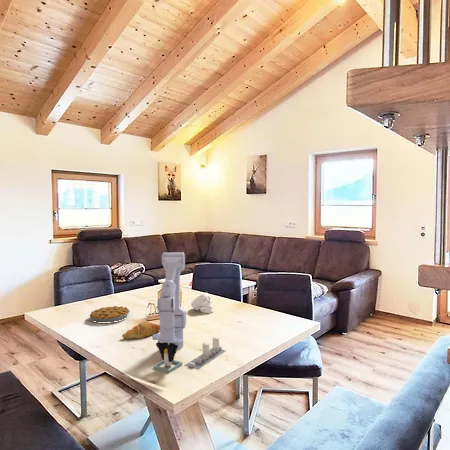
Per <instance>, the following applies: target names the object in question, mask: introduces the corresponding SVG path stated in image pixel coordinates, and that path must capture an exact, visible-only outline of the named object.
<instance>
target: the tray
mask: <svg viewBox="0 0 450 450" xmlns="http://www.w3.org/2000/svg"><path fill="white" fill-rule="evenodd" d="M163 364H164V360H162V359H161V361H159V362H157V363H155V364H153V367H152V368H153V369H154V370H158V371H161V372H164V373H168V374H170V373H171V372H173V371H174V370H176V369H178V368H180V367H181V366H183V362H182V361H180V360H179V361H178V360H175V359H174V360H173V361H172V364H175V365H174V366H173V367H172V366H171V367H170V368H165V367H162V366H161V365H163Z"/></svg>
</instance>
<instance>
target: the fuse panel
mask: <svg viewBox="0 0 450 450" xmlns="http://www.w3.org/2000/svg"><path fill="white" fill-rule="evenodd" d="M225 352H227V350H225V349H222V346H220V345H219V352H218V353H216V350H213V347H212V348H210V358H209V359H206V357H205V356H203V353H202V354H200V355H199V356H197V357H195V358H194V359H192V360H191V361H189V362H186V364H184V367H188V368H192V369H195V370H200V369H202V368H203V367H205V366H206V365H208V364H209V363H210V362H212V361H213V360H215V359H217V357H220V355H222V354H224V353H225Z"/></svg>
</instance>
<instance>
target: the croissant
mask: <svg viewBox="0 0 450 450" xmlns="http://www.w3.org/2000/svg"><path fill="white" fill-rule="evenodd" d="M158 332H160V324H159V323H158V324H157V323H152V322H149V321H141V322H139V323H138V324H137V325H134V326H133V327H132V328H131V329H128V330H127V331H125V333H122V335H121V337H122V338H123V339H126V340H129V339H130V340H131V339H133V338H137V339H144V338H147V337H146V336H148V337H150V335H151V336H152V335H154V334H157V333H158Z"/></svg>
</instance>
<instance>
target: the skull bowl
mask: <svg viewBox="0 0 450 450" xmlns="http://www.w3.org/2000/svg"><path fill="white" fill-rule="evenodd" d="M212 304H213V300H212V299H211V296H210V294H209V293H208V292H204V293H201V294H200V295H199V296H197V297H196V298H195V299H194V300H192V301H191V304H190V305H191V308H193V310H195V311H200V312H201V313H204V314H211V313H213V312H214V309H213V307H214V306H213V305H212Z"/></svg>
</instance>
